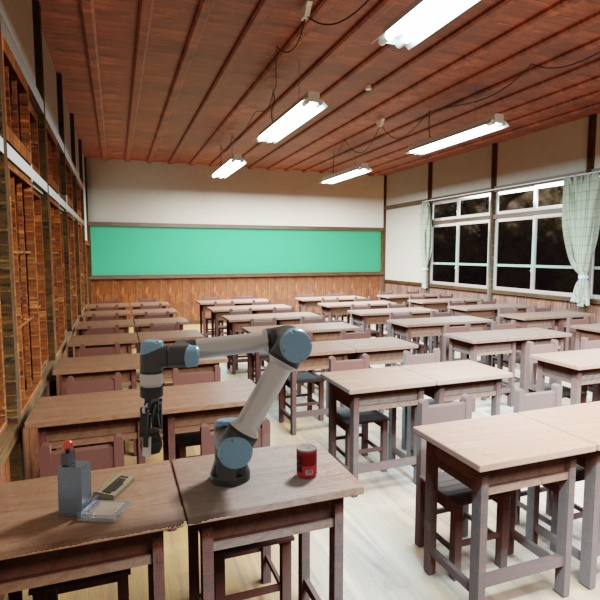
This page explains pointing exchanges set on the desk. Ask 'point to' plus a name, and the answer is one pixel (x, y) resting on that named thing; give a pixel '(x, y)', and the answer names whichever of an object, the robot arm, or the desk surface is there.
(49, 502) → the desk surface
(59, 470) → the press
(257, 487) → the desk surface
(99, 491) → the computer
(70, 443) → the lever
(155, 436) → the mate gourd
